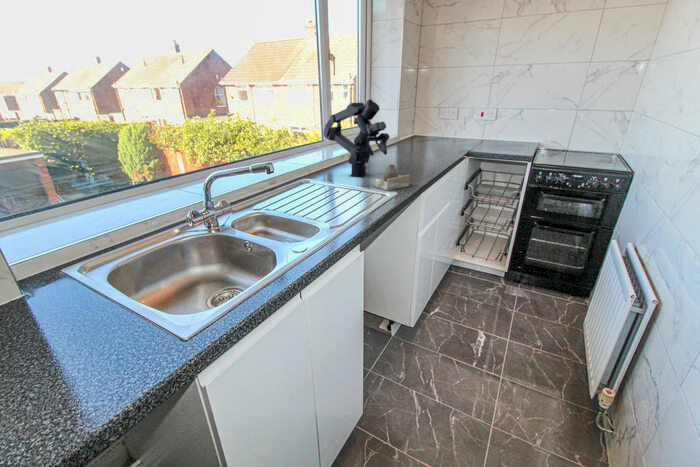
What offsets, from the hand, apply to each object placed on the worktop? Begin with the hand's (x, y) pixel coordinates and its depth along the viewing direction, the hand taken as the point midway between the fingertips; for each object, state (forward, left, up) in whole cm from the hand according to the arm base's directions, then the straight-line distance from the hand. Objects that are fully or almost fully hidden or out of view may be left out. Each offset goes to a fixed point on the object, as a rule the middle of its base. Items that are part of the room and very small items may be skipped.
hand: (379, 154), depth 150 cm
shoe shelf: (+8, -6, -13) cm, 16 cm away
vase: (+7, -5, -12) cm, 15 cm away
